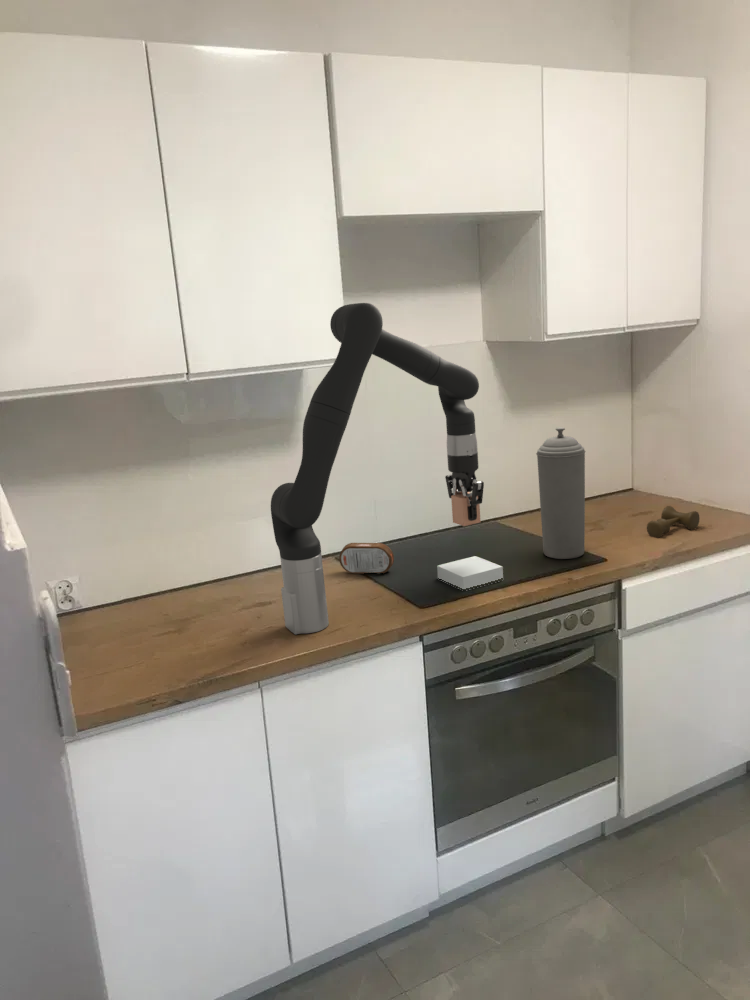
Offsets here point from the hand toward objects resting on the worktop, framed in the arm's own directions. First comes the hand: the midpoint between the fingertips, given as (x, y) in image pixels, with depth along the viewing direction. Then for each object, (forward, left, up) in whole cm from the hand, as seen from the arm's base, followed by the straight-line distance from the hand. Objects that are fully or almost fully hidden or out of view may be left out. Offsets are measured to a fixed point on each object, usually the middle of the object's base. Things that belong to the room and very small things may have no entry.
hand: (466, 517), depth 198 cm
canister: (+31, 0, -17) cm, 35 cm away
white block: (0, 0, -17) cm, 17 cm away
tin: (-18, +23, -17) cm, 34 cm away
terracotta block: (0, 0, -1) cm, 1 cm away
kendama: (+69, -3, -17) cm, 71 cm away
